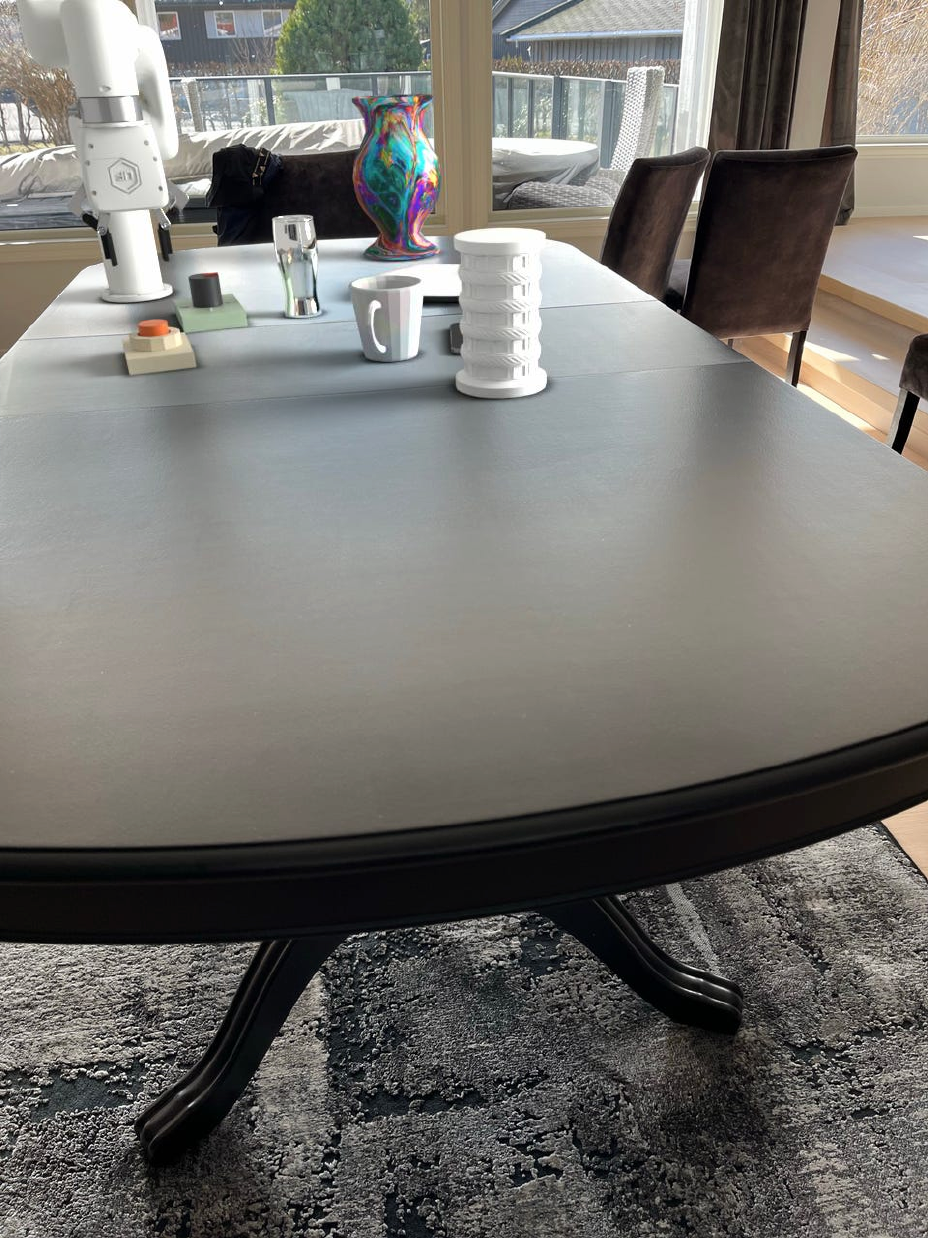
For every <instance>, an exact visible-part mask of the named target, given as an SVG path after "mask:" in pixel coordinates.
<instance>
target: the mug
mask: <svg viewBox="0 0 928 1238" xmlns="http://www.w3.org/2000/svg"><path fill="white" fill-rule="evenodd" d="M348 291H349V295H350V300H351V304H352V308H353V312H354V317H355V321H356V325H357V329H358V334H359V338H360V342H361V346H362V351H363V354H364V356H365V358H366V359H368V360H371V361H374V362H380V363H381V362H383V363H393V362H402V361H407V360H409V359H412V358H414V357H416V356H417V354H418V352H419V345H420V342H419V341H420V333H421V324H422V323H421V322H422V312H423V302H424V301H423V292H424V281H423V280H422V279H420V278H417V277H413V276H406V275H382V276H375V275H372V276H366V277H362V278H361V277H360V278H358V279H354V280H353V281H351V282H350V283H349V284H348Z"/></svg>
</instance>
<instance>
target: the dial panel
mask: <svg viewBox="0 0 928 1238" xmlns="http://www.w3.org/2000/svg"><path fill="white" fill-rule="evenodd" d="M222 300H223V304H221V305H219V306H215V307H207V308H199V307H194V306H193V302H192V297H185V298H175V299H172V302H173V307H174V313H175V316H176V318H177V321H178V322H179V325H180V327H181V329H182V331H183V332H184V333H185V334H186V333H187V334H188V333H194V332H195V333H196V332H203V331H204V332H205V331H212V330H213V331H214V330H222V329H232V328H240V327H241V328H242V327H248V319H247V313H246V309H245V308H244V306H242V304H241V303H240V301H239V300H238V299H237V298H236V296H235V295H234V294H233V293H223V294H222Z"/></svg>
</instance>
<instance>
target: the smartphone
mask: <svg viewBox="0 0 928 1238" xmlns="http://www.w3.org/2000/svg"><path fill="white" fill-rule="evenodd" d="M449 335H450V351H451V353H454V354H461V353H460V352H461V346H462V344H463V334H462V333H461V330H460V322H454V323H451V324H450V325H449Z"/></svg>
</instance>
